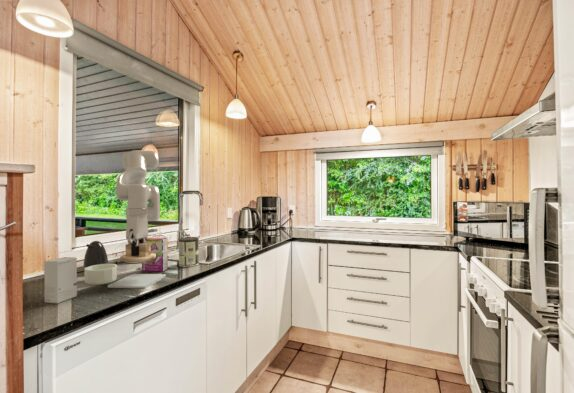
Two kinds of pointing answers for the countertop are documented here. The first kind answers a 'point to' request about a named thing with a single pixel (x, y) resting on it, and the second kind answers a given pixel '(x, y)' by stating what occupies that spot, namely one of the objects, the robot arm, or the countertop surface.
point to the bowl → (100, 274)
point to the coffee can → (188, 252)
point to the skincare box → (60, 279)
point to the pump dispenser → (95, 254)
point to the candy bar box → (157, 255)
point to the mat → (137, 281)
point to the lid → (143, 254)
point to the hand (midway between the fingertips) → (138, 254)
